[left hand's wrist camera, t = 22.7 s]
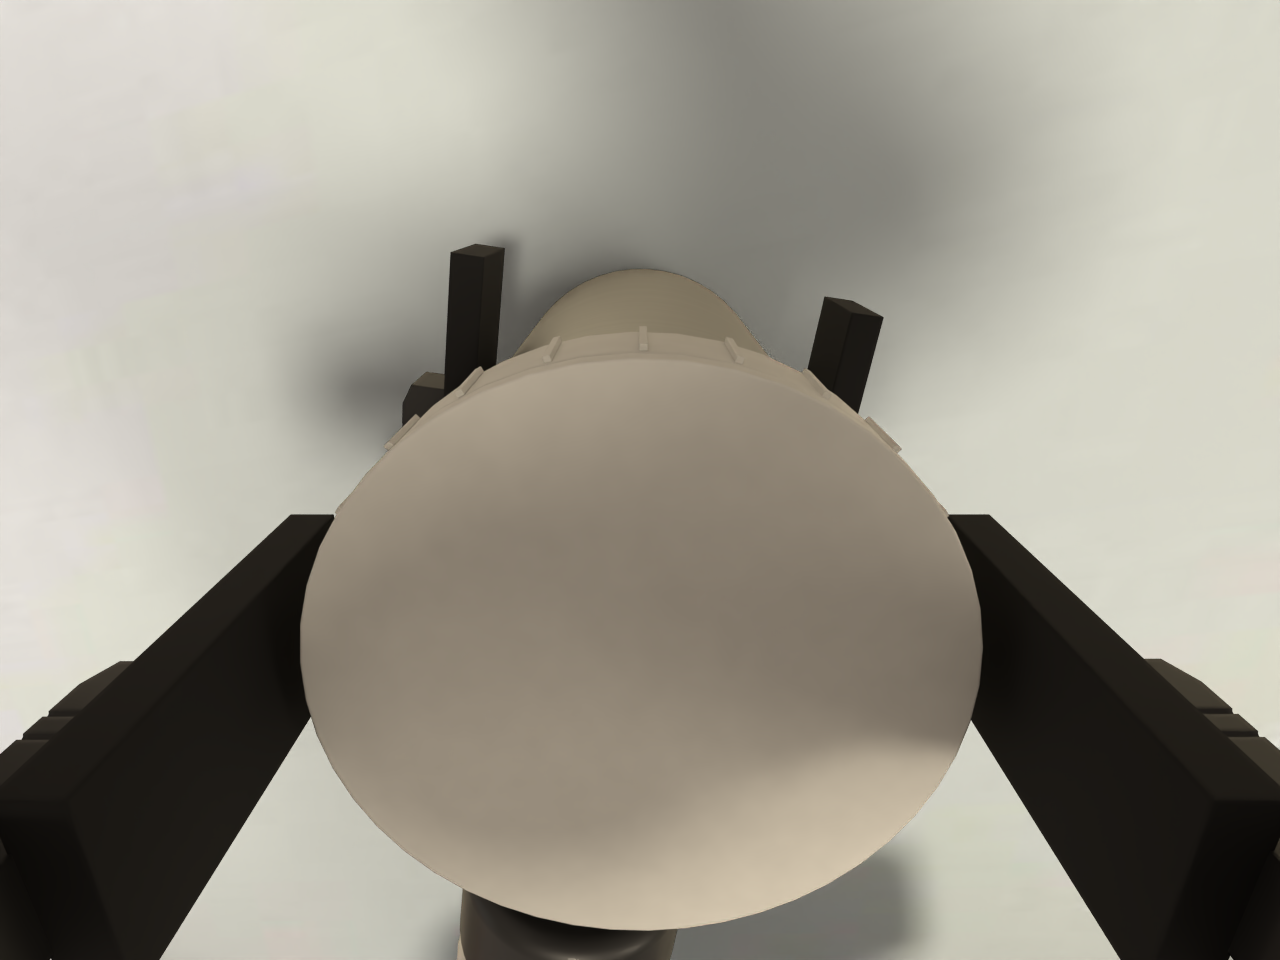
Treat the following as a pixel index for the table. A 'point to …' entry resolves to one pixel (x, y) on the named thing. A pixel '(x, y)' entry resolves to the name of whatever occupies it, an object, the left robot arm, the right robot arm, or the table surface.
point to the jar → (640, 310)
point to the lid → (641, 635)
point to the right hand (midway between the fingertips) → (668, 279)
